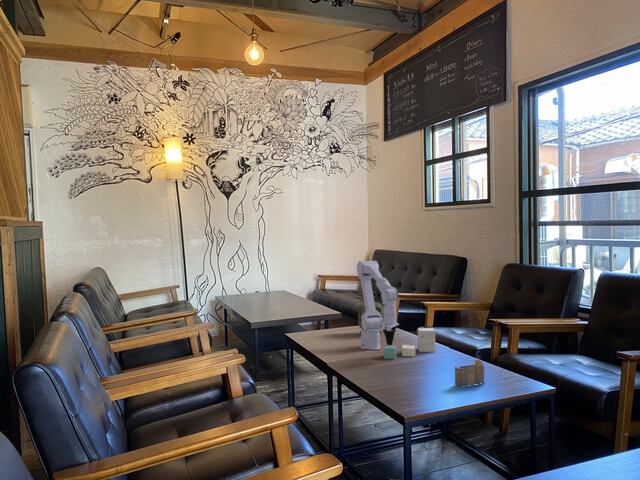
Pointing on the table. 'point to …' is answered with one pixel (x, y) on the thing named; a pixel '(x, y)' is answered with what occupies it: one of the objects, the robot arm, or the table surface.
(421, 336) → the small box
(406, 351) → the cream block
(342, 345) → the table surface
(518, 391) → the table surface
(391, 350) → the teal cube
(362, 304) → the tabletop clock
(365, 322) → the robot arm
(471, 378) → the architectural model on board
